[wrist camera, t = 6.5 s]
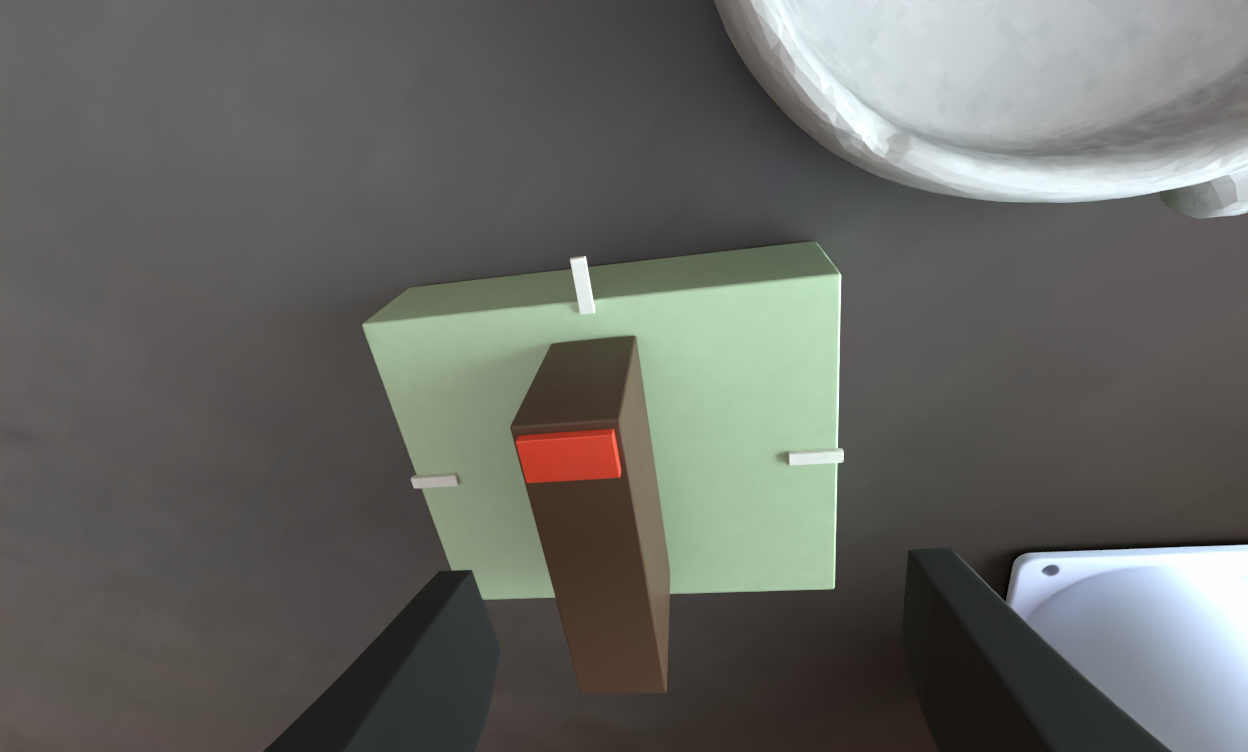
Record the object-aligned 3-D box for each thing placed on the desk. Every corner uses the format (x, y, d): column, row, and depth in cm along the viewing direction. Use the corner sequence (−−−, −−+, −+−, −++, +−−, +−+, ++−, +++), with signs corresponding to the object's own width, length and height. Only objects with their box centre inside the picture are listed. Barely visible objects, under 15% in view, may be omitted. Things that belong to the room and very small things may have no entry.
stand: (820, 198, 16) (849, 226, 13) (819, 547, 21) (839, 619, 18) (393, 251, 18) (338, 286, 15) (493, 560, 23) (465, 628, 20)
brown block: (670, 572, 18) (666, 703, 14) (600, 575, 19) (578, 703, 15) (636, 334, 15) (619, 425, 11) (550, 342, 15) (505, 433, 11)
